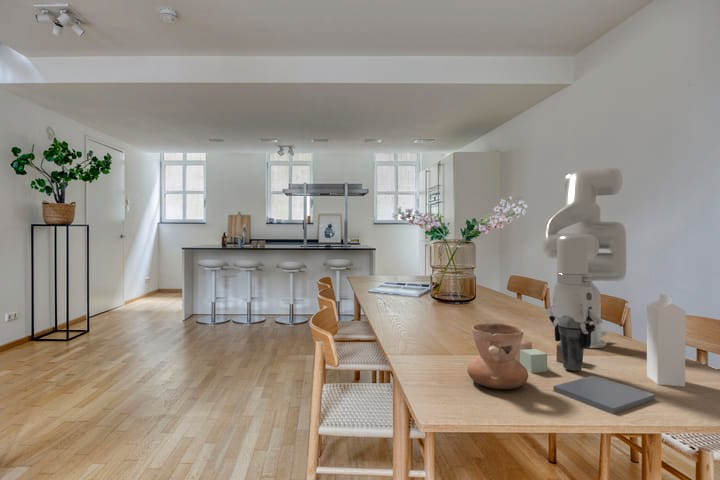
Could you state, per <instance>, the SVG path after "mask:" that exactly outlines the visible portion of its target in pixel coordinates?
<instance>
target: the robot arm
mask: <svg viewBox="0 0 720 480" xmlns="http://www.w3.org/2000/svg"><path fill="white" fill-rule="evenodd" d="M563 185H564V186H563V187H564V192H565V194H566V195H565V200H564V207H562V208H561V209H559V210H558V211H557V212H556V213H554V215H553V216H551V218H550V219H549V221H548V222H547V224H546V227H545V231H544V236H543V244H542V247H543V253H544V254H545V255H544V256H546V257H547V258H549V259H552V260H556V272H557V273H556V277H557V278H556V283H555V284H554V288H553V292H552V293H553V294H552V302H551V305H550V307H548V308H547V309H546V310H545V313H546V315H547V317H548V318H549V321H550V322H551V323H552V327H554V341H555V342H561V341H560V333H559V329H558V321H559V319H560V317H562V316H569V317H571V318H572V319H574V320H575V322H577V323H579V325H580V327H581V329H582V331H583V333H581V348H584V349H602V348H605V347H606V346H607V343H606V341H604V340H603V339H602V337H607V335H608V332H607V331H606V330H602V329H601V325H602V324H603V320H602V319H601V315H602V314H601V310H602V309H601V308H602V306H601V303H602V301H601V299H602V298H601V297H602V296H601V295H602V294H601V292H600V290H599V289H598V287H597V286H596V285H595V284H594V283H593V282H596V281H598V282H599V281H600V282H602V281H603V282H620V281H623V280H624V279H625V277H626V274H627V230H626V228H625V226H624V224H623V223H621V222H619V221H601V207H600V206H599V204H598V203H597V197H598V196H602V197H603V196H614V195H618V194H619V192H620V191H621V189H622V188H623V175H622V172H621V170H620V169H619V168H617V167H614V168H613V167H610V168H605V167H604V168H596V169H584V170H576V171H572V172H570V173H567V174H566V175H565V176H564V179H563ZM570 226H571V227H572V230H571V231H572V233H559V232H560V231H561V230H563V229H565V228H567V227H570ZM599 250H607V251H609V252H600V251H599Z"/></svg>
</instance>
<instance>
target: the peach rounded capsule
mask: <svg viewBox="0 0 720 480" xmlns="http://www.w3.org/2000/svg"><path fill="white" fill-rule="evenodd" d="M525 349H533V342H531V341H529V340H526V339H522V341H521V344H520V346H519V349H518V351H517V353H516V355H515V357H514V358H515V359H516V360H517V361H518V362H519V363H520V350H525Z"/></svg>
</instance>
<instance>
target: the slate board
mask: <svg viewBox="0 0 720 480" xmlns="http://www.w3.org/2000/svg"><path fill="white" fill-rule="evenodd" d="M552 391H553V392H555V393H557V394H560V395H562V396H565V397H568V398H570V399H574V400H576V401H578V402H581V403H584V404H587V405H588V406H591V407H594V408H597V409H598V410H601V411H603V412H607V413H609V414H612V415H614V414H617V413H621V412H623V411H627V410H629V409H632V408H635V407H638V406H640V405H644V404H647V403H649V402H653V401H655V400H656V394H655V393H651V392H649V391H645V390H642V389H640V388H637V387H633V386H630V385H627V384H624V383H620V382H617V381H614V380H610V379H607V378H604V377H602V376H598V375H590V376H586V377H583V378H580V379H574V380H572V381H568V382H567V381H566V382H563V383H559V384H555V385H553V390H552Z"/></svg>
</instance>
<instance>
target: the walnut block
mask: <svg viewBox="0 0 720 480" xmlns="http://www.w3.org/2000/svg"><path fill="white" fill-rule="evenodd" d="M555 357H556V359H555V360H556V362H557V363H562V364H563V361H562V352H561V342H559V343H558V344H556V356H555Z"/></svg>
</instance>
